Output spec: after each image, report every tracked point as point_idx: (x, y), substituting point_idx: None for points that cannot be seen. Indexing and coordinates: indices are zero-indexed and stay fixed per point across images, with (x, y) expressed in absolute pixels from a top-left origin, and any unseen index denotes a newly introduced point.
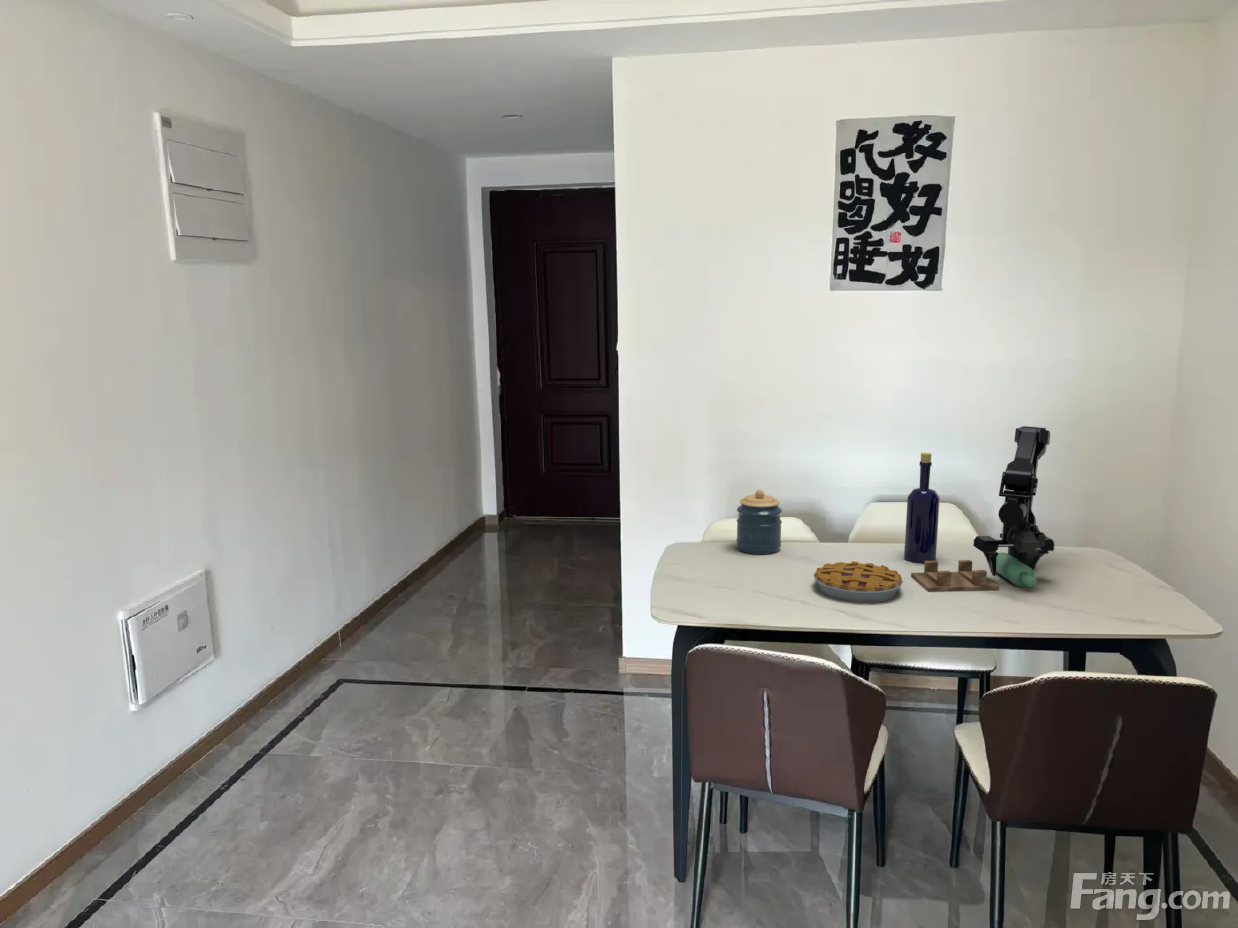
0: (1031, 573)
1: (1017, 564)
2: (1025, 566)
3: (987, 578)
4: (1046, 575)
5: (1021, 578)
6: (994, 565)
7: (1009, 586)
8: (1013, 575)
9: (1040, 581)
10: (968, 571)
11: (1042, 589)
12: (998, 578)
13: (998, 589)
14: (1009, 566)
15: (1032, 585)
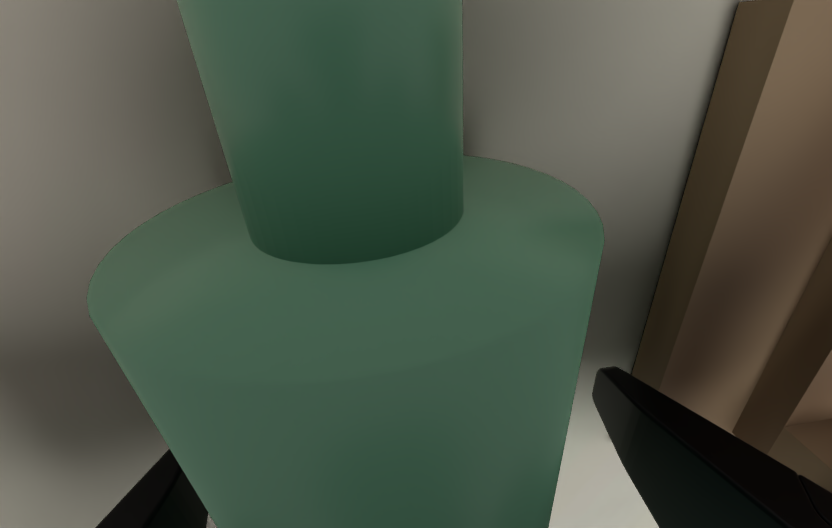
0: (169, 265)
1: (486, 497)
2: (325, 373)
3: (696, 314)
4: (8, 517)
5: (462, 65)
6: (754, 471)
7: None
8: (575, 197)
9: (81, 367)
10: (826, 409)
11: (66, 37)
12: None
13: (755, 3)
14: (558, 467)
15: None
